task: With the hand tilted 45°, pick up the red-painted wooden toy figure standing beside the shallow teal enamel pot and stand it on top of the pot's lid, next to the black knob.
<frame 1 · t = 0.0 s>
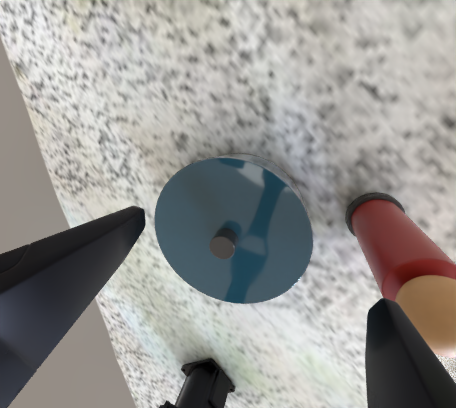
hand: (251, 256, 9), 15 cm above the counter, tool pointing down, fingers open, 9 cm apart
pot lid: (228, 236, 21), point 5 cm above the counter, touching pot
toy: (373, 216, 22), on the counter
pot: (239, 215, 26), on the counter
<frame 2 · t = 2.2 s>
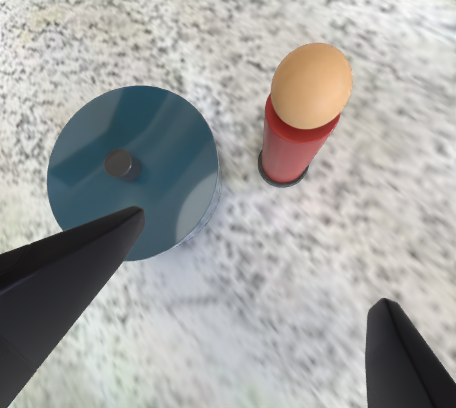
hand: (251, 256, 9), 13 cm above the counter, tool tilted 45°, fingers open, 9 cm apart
pot lid: (132, 170, 19), point 5 cm above the counter, touching pot
toy: (282, 164, 23), on the counter
pot: (155, 183, 24), on the counter
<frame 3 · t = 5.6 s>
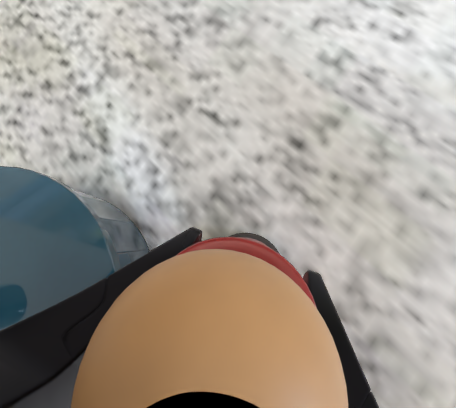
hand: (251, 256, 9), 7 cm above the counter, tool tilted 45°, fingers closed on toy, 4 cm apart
toy: (245, 269, 15), on the counter, touching gripper
pot: (61, 290, 16), on the counter
when the fingers open (12 cm above the counter, at t = 11.1 s): toy stays where it is, resting on pot lid.
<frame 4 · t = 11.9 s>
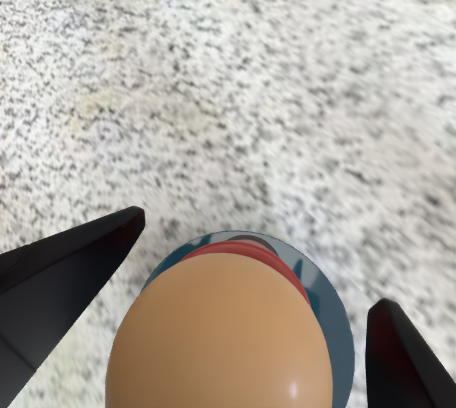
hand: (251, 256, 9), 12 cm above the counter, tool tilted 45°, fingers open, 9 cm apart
pot lid: (236, 341, 16), point 5 cm above the counter, touching pot, toy
toy: (246, 269, 16), point 5 cm above the counter, touching pot lid
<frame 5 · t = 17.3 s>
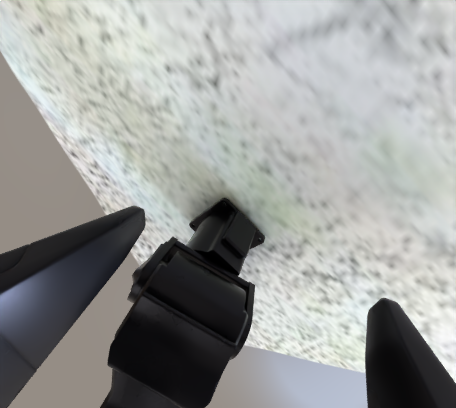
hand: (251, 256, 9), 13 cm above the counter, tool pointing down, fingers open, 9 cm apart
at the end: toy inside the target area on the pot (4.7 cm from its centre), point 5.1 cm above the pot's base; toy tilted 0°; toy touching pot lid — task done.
